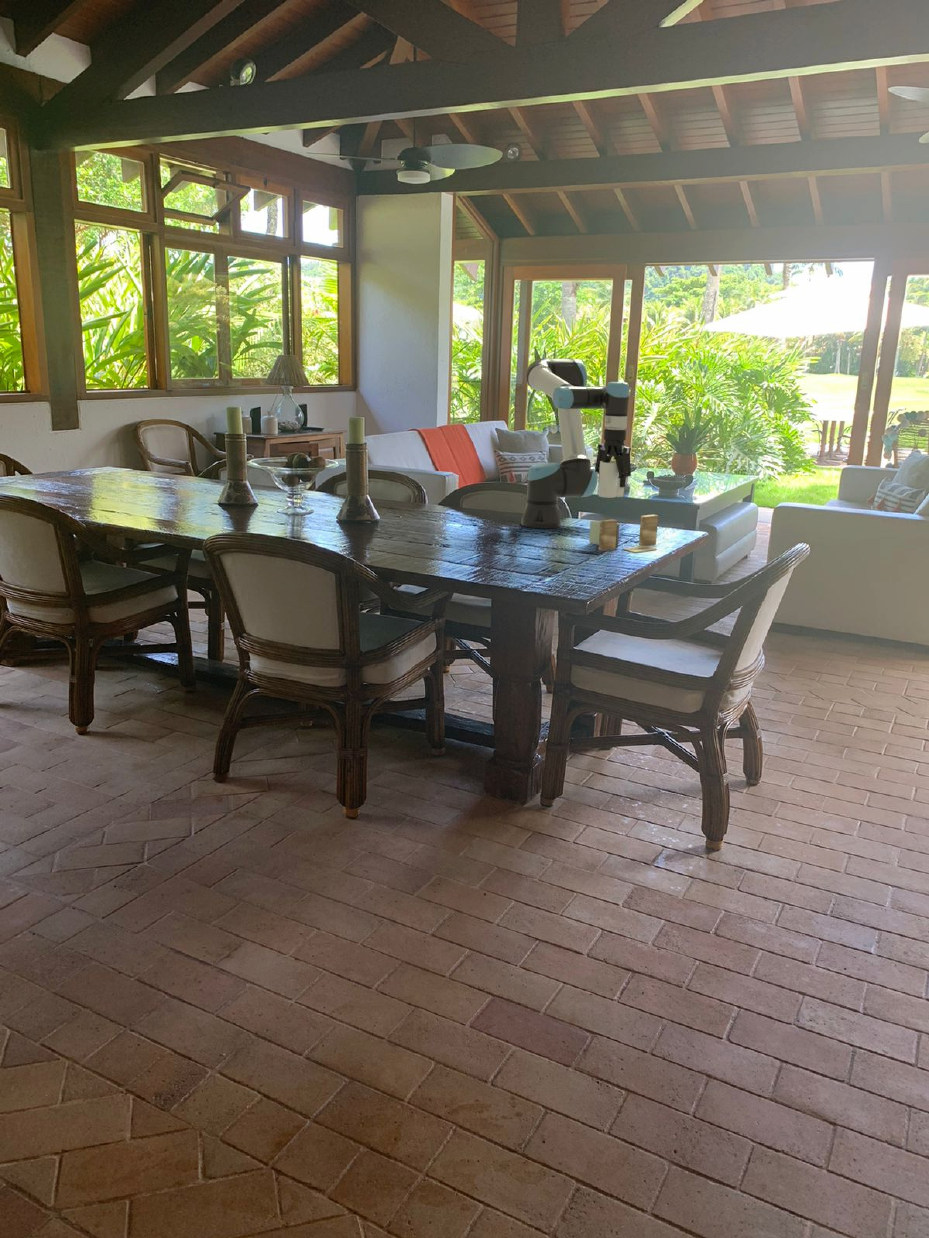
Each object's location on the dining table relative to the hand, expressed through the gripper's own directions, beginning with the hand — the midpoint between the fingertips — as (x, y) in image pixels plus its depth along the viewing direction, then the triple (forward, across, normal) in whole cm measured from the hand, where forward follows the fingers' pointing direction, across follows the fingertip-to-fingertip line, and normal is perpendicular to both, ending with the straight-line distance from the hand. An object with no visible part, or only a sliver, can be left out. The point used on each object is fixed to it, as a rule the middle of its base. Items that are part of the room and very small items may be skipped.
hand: (611, 494), depth 325 cm
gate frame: (+16, +15, -2) cm, 22 cm away
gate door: (+16, +6, -8) cm, 19 cm away
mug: (+1, 0, 0) cm, 1 cm away
